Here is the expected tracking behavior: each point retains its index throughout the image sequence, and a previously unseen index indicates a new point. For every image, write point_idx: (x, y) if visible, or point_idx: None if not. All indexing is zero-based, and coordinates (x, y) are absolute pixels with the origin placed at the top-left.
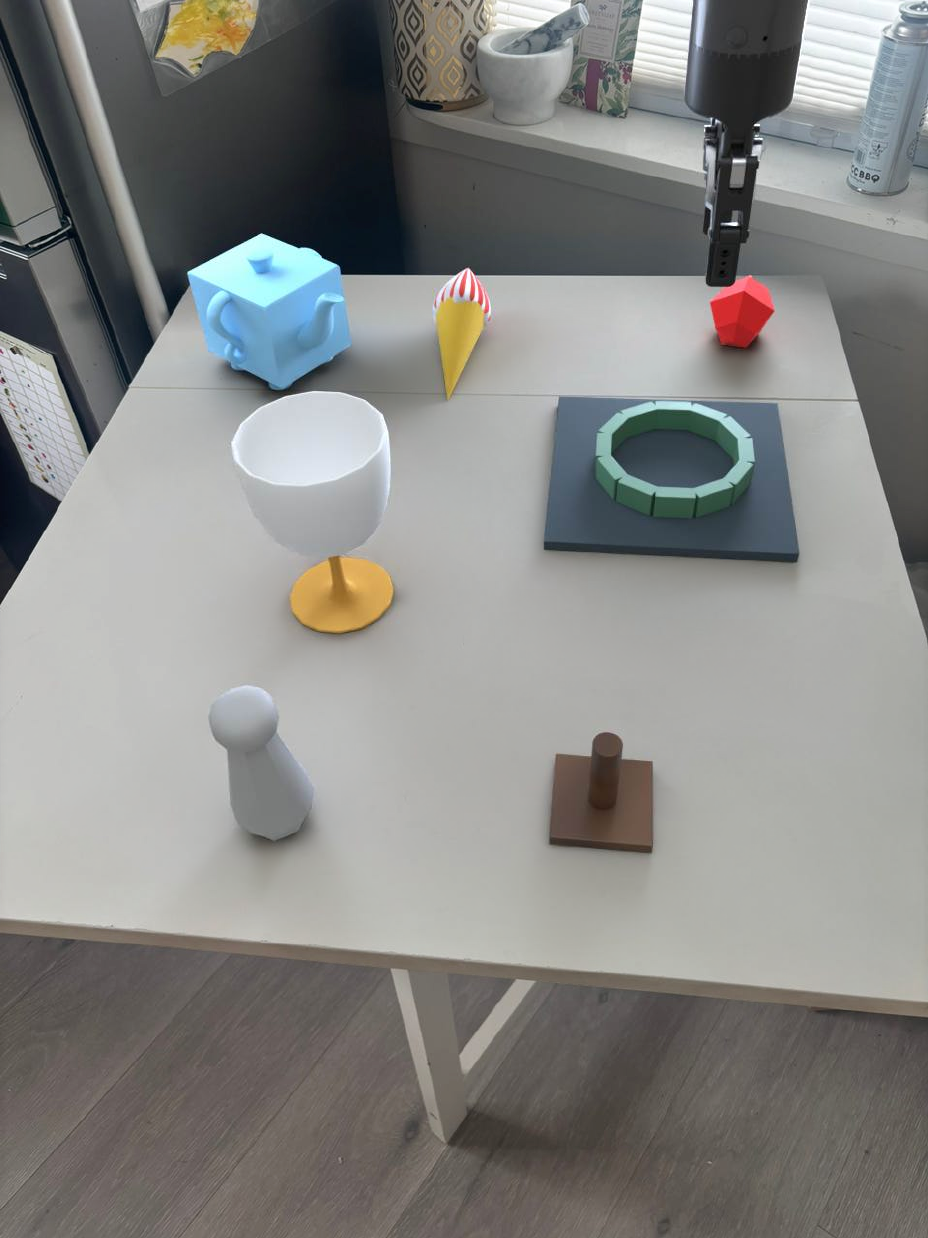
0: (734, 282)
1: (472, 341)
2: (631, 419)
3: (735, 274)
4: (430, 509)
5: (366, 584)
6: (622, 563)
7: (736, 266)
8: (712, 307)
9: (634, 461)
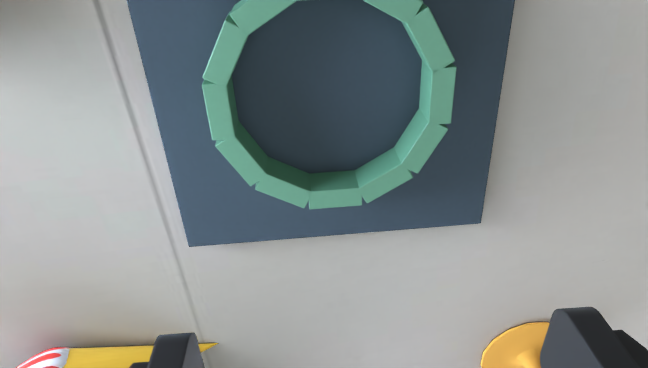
0: (598, 311)
1: (116, 359)
2: (264, 168)
3: (612, 335)
4: (409, 320)
5: (519, 343)
6: (505, 132)
7: (634, 363)
8: None
9: (321, 141)
